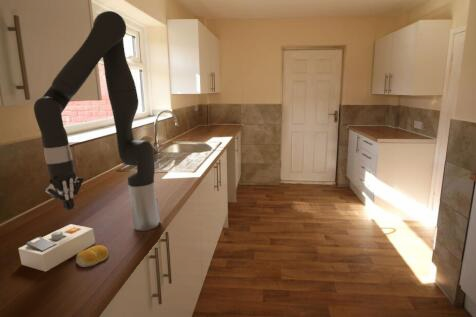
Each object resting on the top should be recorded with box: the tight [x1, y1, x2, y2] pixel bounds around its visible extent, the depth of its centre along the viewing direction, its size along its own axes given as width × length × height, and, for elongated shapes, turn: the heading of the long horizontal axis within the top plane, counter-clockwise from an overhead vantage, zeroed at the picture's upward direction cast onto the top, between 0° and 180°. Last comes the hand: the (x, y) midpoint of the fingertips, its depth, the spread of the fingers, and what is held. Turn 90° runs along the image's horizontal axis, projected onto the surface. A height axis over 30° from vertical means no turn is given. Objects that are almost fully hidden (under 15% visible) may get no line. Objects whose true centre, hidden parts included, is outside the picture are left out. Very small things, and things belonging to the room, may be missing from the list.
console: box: [17, 223, 96, 272], centre depth 100 cm, size 18×11×6 cm, turn 156°
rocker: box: [26, 236, 55, 252], centre depth 95 cm, size 4×7×1 cm, turn 66°
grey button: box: [51, 231, 64, 242], centre depth 100 cm, size 3×3×2 cm
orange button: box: [67, 228, 78, 234], centre depth 105 cm, size 3×3×2 cm
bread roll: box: [75, 244, 109, 268], centre depth 96 cm, size 8×9×4 cm
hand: (69, 209), depth 104 cm, fingers closed
